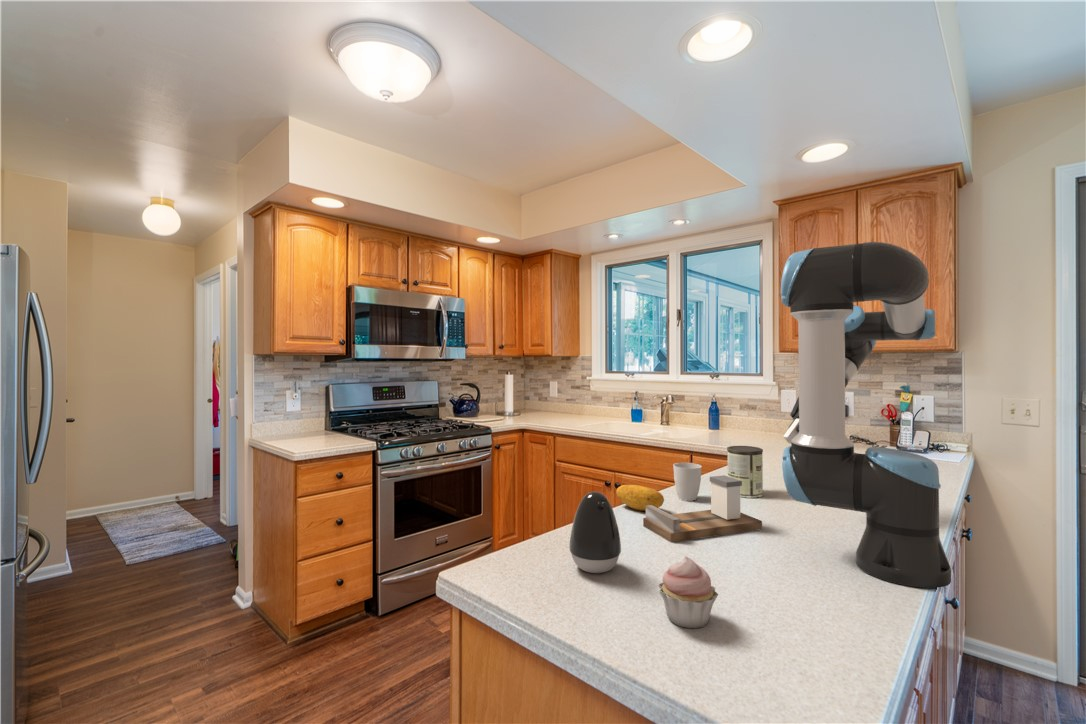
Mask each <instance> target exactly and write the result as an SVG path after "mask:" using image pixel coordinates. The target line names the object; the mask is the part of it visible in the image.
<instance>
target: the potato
mask: <svg viewBox="0 0 1086 724" xmlns="http://www.w3.org/2000/svg"><path fill="white" fill-rule="evenodd" d="M615 492H616V496H617V497H618V499H619V501H620V502H621V503H623V504H624V505H626V506H628V507H630V508H631V509H633V510H636V511H640V512H641V511H642V512H646V506H647V505H652V506H654V507H656V508H658V509H660V508H661V507H662V506H663V504H664V502H665V498H664V495H663V494H662V493H661V491H658V490H657V489H654V488H651V487H648V486H645V485H644V486H643V485H640V484H639V485H638V484H637V485H636V484H623V485H620V486H618V487H617V489H616V491H615Z"/></svg>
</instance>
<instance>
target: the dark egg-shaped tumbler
mask: <svg viewBox="0 0 1086 724" xmlns="http://www.w3.org/2000/svg"><path fill="white" fill-rule="evenodd" d="M569 552H570V554H571V558H572V560H573V562H574V564H575V565H576V566H577V567H578V568H579V569H580V570H582V571H584V572H587V573H590V574H602V573H606V572H608V571H610V570H612V569H613V567H615V566H616V564H617V562H618V561H619V557H620V555H621V552H622V543H621V536H620V531H619V526H618V522H617V518H616V515H615V511H614V509H613V507H612V504H611V503H610V500H609V499H608V497H607V496H606V495H605V494H604V493H602V492H599V491H590V492H588V493H586V494H585V495H584V496H583V497H582V498H581V500H580V501H579V504H578V506H577V509H576V512H575V514H574V519H573V522H572V527H571V531H570V537H569Z"/></svg>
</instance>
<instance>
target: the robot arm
mask: <svg viewBox="0 0 1086 724" xmlns="http://www.w3.org/2000/svg"><path fill="white" fill-rule="evenodd" d="M929 280H930V279H929V271H928V269H927V266H926V265H925V263H924V261H922V260H921V258H919V257H918V256H917V255H915V254H914V253H913V252H911V251H910V250H907V249H905V248H902V247H901V246H898V245H896V244H892V243H887V242H882V241H868V242H866V241H865V242H861V243H853V244H852V243H851V244H843V245H834V246H825V247H824V246H823V247H815V248H810V249H804V250H800V251H796V252H793V253H792V254H790V256H789V257H788V258H787V260H786V261H785V264H784V267H783V270H782V275H781V281H780V282H781V283H780V294H781V297H780V298H781V299H780V300H781V304H782V305H783V306H784V307H787V308H789V309H790V310H789V311H790V313H789V315H790V316H791V317H793V318H794V319H795V320H796V321H797V323H798V324H797V326H798V327H797V328H798V333H797V334H798V336H797V337H798V341H797V342H798V397H797V399H796V401H795V403H794V405H793V407H792V409H791V412H790V414H789V416H790V417H791V418H792V421H791V423H790V424H789V426H788V430H787V431H786V432H785V433H784V435H783V439H784V440H786V442H787V443H788V444H791V445H789V446H786V447H785V448H784V449H783V452H782V462H781V463H782V464H781V465H782V466H781V468H782V477H783V481H784V486H785V489H786V491H787V493H788V495H789V496H790V497H791V498H792V499H793V500H794V501H796V502H800V503H804V504H809V505H811V506H819V507H820V506H821V507H828V508H834V509H840V510H848V511H854V512H860V513H865V515H866V517H865V518H866V521H865V522H866V523H865V525H866V526H865V529H864V531H863V534H862V537H861V539H860V541H859V544H858V547H857V549H856V552H855V563H856V566H857V567H858V568H859V569H860V570H862V571H863V572H865V573H866V574H868V575H870V576H872V577H875V578H878V579H880V580H883V581H887V582H891V583H894V584H898V585H902V586H903V585H904V586H907V587H914V588H925V589H938V588H943V587H946V586H947V587H948V586H949V585H950V584H951V583H952V568H951V565H950V563H949V560H948V558H947V554H946V552H945V549H944V546H943V544H942V541H941V537H940V498H939V497H940V491H939V490H940V489H941V483H940V475H939V473H940V471H939V467H938V464H936V463H935V461H934V460H932V459H930V458H928V457H926V456H923V455H920V454H917V453H913V452H910V451H906V450H901V449H894V448H888V447H879V446H870V447H867V448H866V450H865V452H864V453H856V452H855V443H854V441H852V440H850V439H849V438H848V436H847V435H846V387H847V386H848V384H849V382H851V380H852V379H853V377H854V376H855V375H856V373H858V370H859V369H860V368H861V366H862V364H863V363H864V362H865V361H866V359H867V358H868V357H869V355H871V353H872V352H873V350H874V348H875V346H876V344H877V341H922V340H931V339H934V338H935V337H936V311H935V309H929V308H925V299H924V297H925V296H924V294H925V293H926V291H927V289H928V286H929V282H930V281H929ZM873 301H874V302H875V301H880V302H881V304H882V307H883V310H884V311H883V310H882V311H881V310H880V311H868V312H867V311H864V309H863V307H861V306H859V305H855V304H854V303H859V302H873Z"/></svg>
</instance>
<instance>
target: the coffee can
mask: <svg viewBox="0 0 1086 724" xmlns="http://www.w3.org/2000/svg"><path fill="white" fill-rule="evenodd" d="M726 451H727V476H728V477H731V478H734V479H738V480H741V481H742V486H740V498H742V497H746V498H745V499H758V498H757V497H759V498H761V497H762V498H763V496H764V493H763V491H764V490H763V487H764V485H763V481H764V480H763V479H764V477H763V476H764V475H763V471H764V470H763V466H764V465H763V453H764V449H763V448H761V447H758V446H751V445H731V446H727V447H726Z"/></svg>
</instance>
